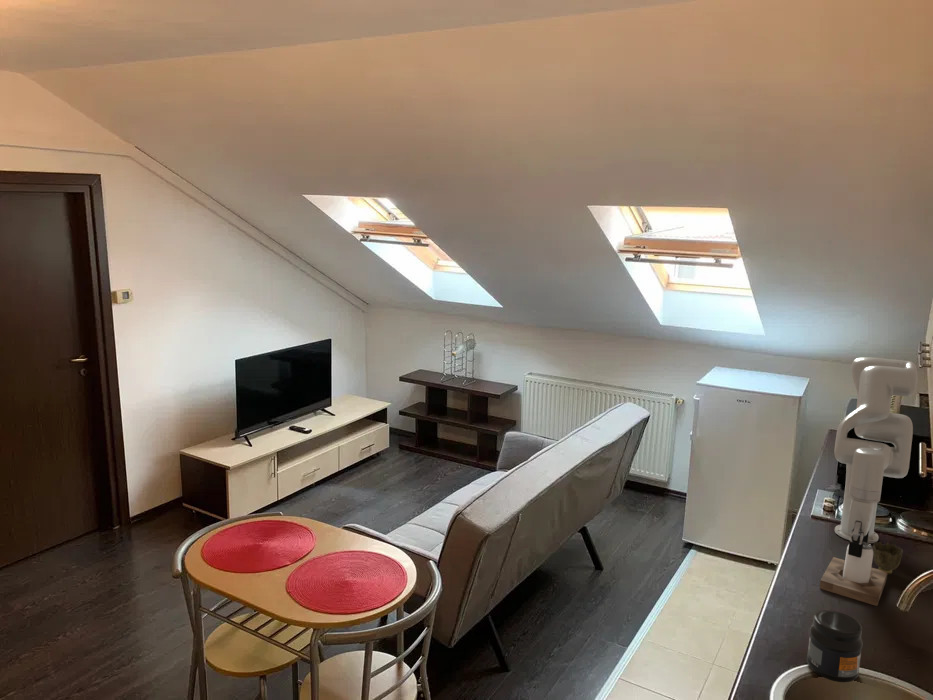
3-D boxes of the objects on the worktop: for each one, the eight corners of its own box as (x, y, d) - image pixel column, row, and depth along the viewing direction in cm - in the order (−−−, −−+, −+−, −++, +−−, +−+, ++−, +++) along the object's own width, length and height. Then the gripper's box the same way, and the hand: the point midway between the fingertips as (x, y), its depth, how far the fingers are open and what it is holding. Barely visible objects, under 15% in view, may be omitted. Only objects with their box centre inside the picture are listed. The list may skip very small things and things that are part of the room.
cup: (874, 576, 194) (877, 550, 193) (867, 564, 201) (870, 540, 200) (903, 580, 192) (907, 554, 191) (894, 568, 199) (898, 543, 198)
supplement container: (869, 682, 147) (876, 632, 145) (827, 687, 146) (833, 637, 143) (835, 653, 158) (841, 606, 156) (795, 657, 156) (801, 610, 154)
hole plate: (832, 564, 201) (833, 557, 200) (886, 580, 192) (887, 572, 192) (819, 588, 187) (820, 580, 187) (877, 606, 178) (878, 597, 178)
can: (871, 591, 186) (878, 551, 184) (846, 587, 187) (852, 547, 185) (863, 580, 192) (869, 541, 190) (838, 576, 193) (844, 538, 191)
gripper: (855, 479, 194) (848, 534, 197) (843, 499, 181) (836, 556, 184) (884, 486, 189) (877, 541, 193) (875, 506, 176) (867, 565, 180)
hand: (857, 549), depth 188 cm, fingers open, 9 cm apart
